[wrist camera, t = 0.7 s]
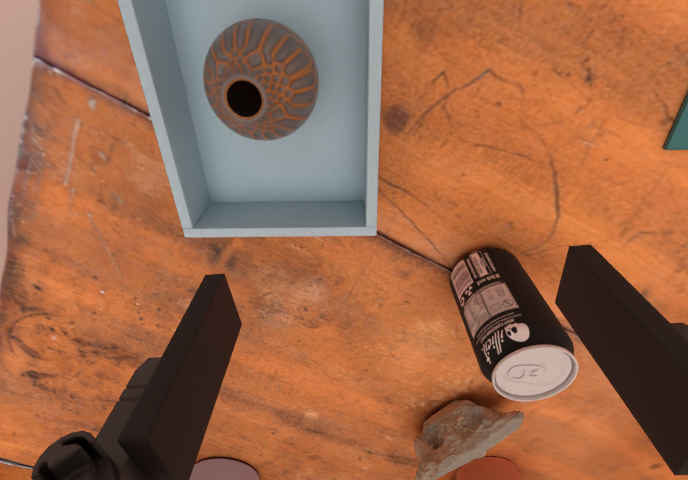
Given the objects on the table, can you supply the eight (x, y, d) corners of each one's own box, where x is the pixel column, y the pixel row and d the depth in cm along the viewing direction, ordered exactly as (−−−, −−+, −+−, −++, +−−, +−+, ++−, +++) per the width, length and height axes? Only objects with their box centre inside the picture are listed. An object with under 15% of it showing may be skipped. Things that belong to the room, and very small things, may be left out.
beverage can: (511, 296, 38) (572, 403, 27) (445, 299, 38) (481, 407, 28) (523, 241, 34) (597, 340, 24) (450, 245, 34) (493, 345, 24)
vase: (205, 41, 25) (145, 55, 18) (297, -1, 24) (274, -5, 17) (253, 136, 29) (219, 181, 21) (336, 103, 27) (331, 139, 20)
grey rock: (404, 389, 51) (425, 453, 52) (388, 444, 41) (415, 521, 43) (514, 376, 46) (535, 447, 47) (525, 436, 36) (551, 524, 37)
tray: (125, -131, 21) (69, -165, 17) (381, -139, 21) (389, -175, 17) (206, 208, 33) (184, 238, 28) (372, 206, 32) (376, 236, 28)
